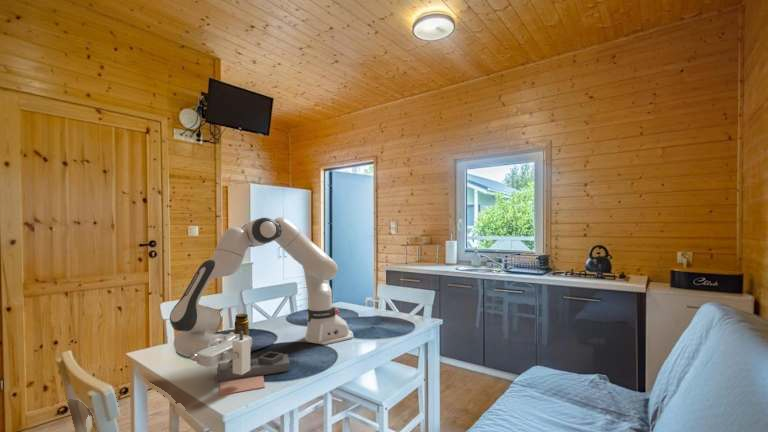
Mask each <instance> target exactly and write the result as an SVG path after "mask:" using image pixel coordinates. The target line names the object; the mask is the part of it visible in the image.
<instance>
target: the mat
mask: <svg viewBox="0 0 768 432" xmlns="http://www.w3.org/2000/svg"><path fill="white" fill-rule="evenodd" d="M264 378H265V377H264V375H260V376H254V377H247V378H241V379H235V380H229V381H223V382H220V388H219V395H218V396H219V397H221V396H225V395H231V394H239V393H243V392H249V391H254V390H260V389H265V388H266V385H265V379H264Z"/></svg>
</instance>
